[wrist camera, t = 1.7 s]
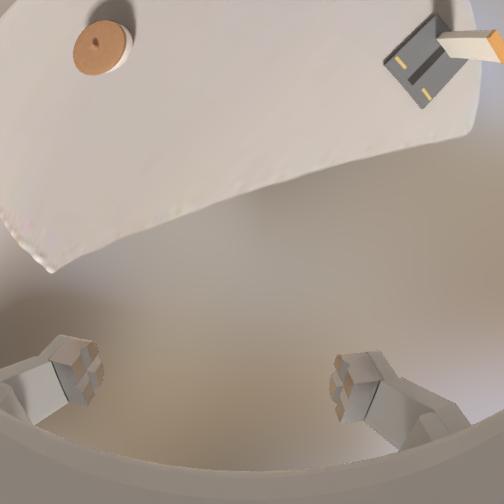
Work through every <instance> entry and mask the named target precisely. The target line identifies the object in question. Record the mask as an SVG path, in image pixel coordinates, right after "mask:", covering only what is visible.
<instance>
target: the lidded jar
mask: <svg viewBox="0 0 504 504" xmlns="http://www.w3.org/2000/svg"><path fill="white" fill-rule="evenodd" d="M132 47H133V40H132V36H131V34H130V32H129V31H128V30H127V29H126V28H125V27H124V26H123V25H121V24H119V23H117V22H114V21H111V20H100V21H97V22H94V23H92V24H91V25H89V26H88V27H87V28H85V29H84V30H83V31H82V33H81V34H80V35H79V37H78V39H77V41H76V43H75V46H74V51H73V58H74V62H75V65H76V67H77V68H78V69H79V71H81V72H82V73H84V74H86V75H99V74H104V73H108V72H111V71H113V70H115V69H117V68H119V67H120V66H121V65H122V64H123V63H124V62H125V61H126V60H127V59H128V57H129V56H130V53H131V51H132Z"/></svg>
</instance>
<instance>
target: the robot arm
mask: <svg viewBox="0 0 504 504" xmlns="http://www.w3.org/2000/svg"><path fill="white" fill-rule="evenodd" d="M98 353H99V351H98V347H97V344H96V343H95V342H93V341H89V340H84V339H79V338H75V337H70V336H65V335H58V336H57V337H56V338H55V339H54V340H53V341H52V342H51V343H50V345H48V346H47V348H45V350H44V351H43V352H42V353H41V354H40V355H39V356H38V357H35V356H34V357H31V358H29V359H26V360H23V361H21V362H18V363H15V364H13V365H10V366H7V367H5V368H2V369H0V504H504V409H503V410H502V411H500V412H498V413H496V414H494V415H492V416H491V417H488V418H487V419H484V420H482V421H480V422H478V423H476V424H474V425H471V424H470V423H469V421H468V420H467V418H466V417H465V416H464V415H463V413H462V411H461V410H460V409H459V407H458V406H457V405H456V403H453V402H451V401H449V400H447V399H445V398H443V397H441V396H439V395H437V394H435V393H433V392H430V391H429V390H427V389H424V388H423V387H421V386H418V385H416V384H414V383H413V382H411V381H408V380H407V379H405V378H398V376H397V375H396V373H395V372H394V370H393V369H392V367H391V366H390V364H389V363H388V361H387V360H386V358H385V357H384V356H383V354H382V352H381V351H379V350H377V351H369V352H364V353H353V354H339V355H337V357H336V359H335V363H334V365H335V368H336V371H335V372H334V373H333V374H332V375H331V379H330V395H331V398H332V400H333V401H334V402H335V403H337V406H336V413H337V416H338V419H339V421H340V423H348V422H357V421H364V422H365V423H366V424H367V425H369V426H370V427H371V428H372V429H373V430H375V431H376V432H377V433H378V434H380V435H381V436H382V437H383V438H384V439H386V440H387V441H388V442H390V443H391V444H392V445H393V446H395V447H396V448H397V449H398V450H399V451H398V452H396V453H392V454H389V455H385V456H381V457H376V458H372V459H367V460H362V461H357V462H352V463H346V464H341V465H334V466H327V467H319V468H310V469H299V470H286V471H256V472H255V471H250V472H249V471H244V472H243V471H219V470H206V469H195V468H186V467H178V466H172V465H164V464H159V463H153V462H148V461H142V460H138V459H134V458H129V457H125V456H121V455H116V454H113V453H109V452H105V451H102V450H98V449H95V448H92V447H89V446H86V445H83V444H80V443H76V442H73V441H71V440H68V439H66V438H63V437H60V436H58V435H55V434H52V433H50V432H48V431H45V430H43V429H41V428H38V427H36V426H34V425H35V424H37V423H38V422H39V421H41V420H43V419H44V418H46V417H47V416H49V415H50V414H52V413H54V412H55V411H57V410H58V409H59V408H61V407H63V406H64V405H65V404H67V403H68V402H72V403H76V404H80V405H84V406H88V405H89V404H90V402H91V400H92V398H93V397H94V395H95V394H94V390H93V389H95V388H97V387H99V386H100V385H101V383H102V381H103V375H104V369H103V365H102V362H101V360H100V359H99V358H98V357H97V354H98Z"/></svg>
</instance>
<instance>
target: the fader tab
mask: <svg viewBox="0 0 504 504" xmlns="http://www.w3.org/2000/svg"><path fill="white" fill-rule="evenodd" d="M437 41H438V42H439V43H440V45H441V46H442V47H443V48H444V50H445V51H446V52H447V54H448V55H449V57H450V58H465V59H476V60H485V61H493V62H500V63H502V64H504V41H503V39H502V38H501V36H500V35H499V33H498V31H497V30H474V31H453V32H443V33H442V34H441V35H440V36H439V37H438V38H437Z"/></svg>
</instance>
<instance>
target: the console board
mask: <svg viewBox="0 0 504 504" xmlns="http://www.w3.org/2000/svg"><path fill="white" fill-rule="evenodd" d="M443 32H451V31H450V29H449V28H448V27H447V25H446V24H445V23H444V22H443V21H442V19H441V18H440V17H439V16H438V15H437V14H436V15H434V16H433V17H432V18H431V19H430V20H429V21H428V22H427V23H425V24H424V25H423V26H422V27H421V28H420V29H419V30H418V31H417V32H416V33H415V34H414V35H413V36H412V37H411V38H410V39H409V40H408V41H407V42H406V43H405V44H404V45H403V46H402V47H401V48H400V49H399V50H398V51H397V52H396V53H395V54H394V55H393V56H392V57H391V58H390V59H389V60H388V61H387V62H386V63H385V64H384V66H385V67H386V68H387V69H388V70H389V71H390V72H391V73H392V75H393V76H394V77H395V78H396V79H397V80H398V81H399V82H400V84H401V85H402V86H403V87H404V88H405V90H406V91H407V92H408V93H409V94H410V96H411V97H412V98H413V99H414V101H415V102H416V103H417V104H418V106H419V107H420V108H421V109H424V108H425V107H426V106H427V104H428V103H429V102H430V101H431V100H432V99H433V98H434V97H435V96H436V95H437V94H438V93H439V91H440V90H441V89H442V88H443V87H444V86H445V85H446V84H447V83H448V82H449V81H450V79H451V78H452V77H453V76H454V75H455V74H456V73H457V72H458V71H459V69H460V68H461V67H462V66H463V65H464V64H465V63H466V62H467V61H468V59H465V58H450V57H449V55H448V54H447V52H446V51H445V50H444V48H443V47H442V46H441V45H440V43H439V42H438V41H437V38H438V37H439V36H440V35H441V34H442V33H443Z"/></svg>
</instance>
